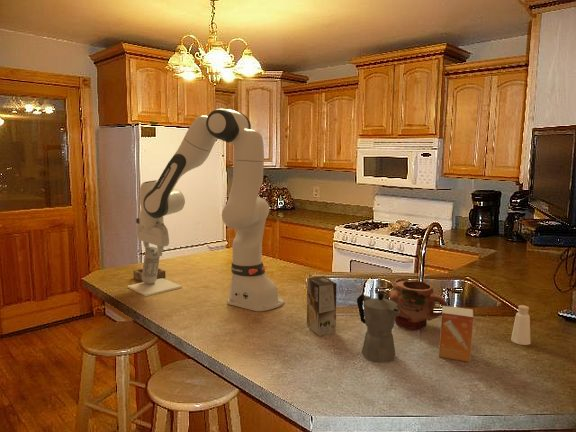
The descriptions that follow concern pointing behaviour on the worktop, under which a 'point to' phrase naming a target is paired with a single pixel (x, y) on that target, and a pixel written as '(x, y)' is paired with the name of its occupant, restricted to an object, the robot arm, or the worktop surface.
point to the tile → (154, 287)
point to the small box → (456, 333)
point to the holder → (139, 272)
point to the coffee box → (321, 305)
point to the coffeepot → (378, 327)
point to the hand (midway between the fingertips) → (153, 253)
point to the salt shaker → (521, 326)
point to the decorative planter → (415, 304)
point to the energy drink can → (150, 266)
